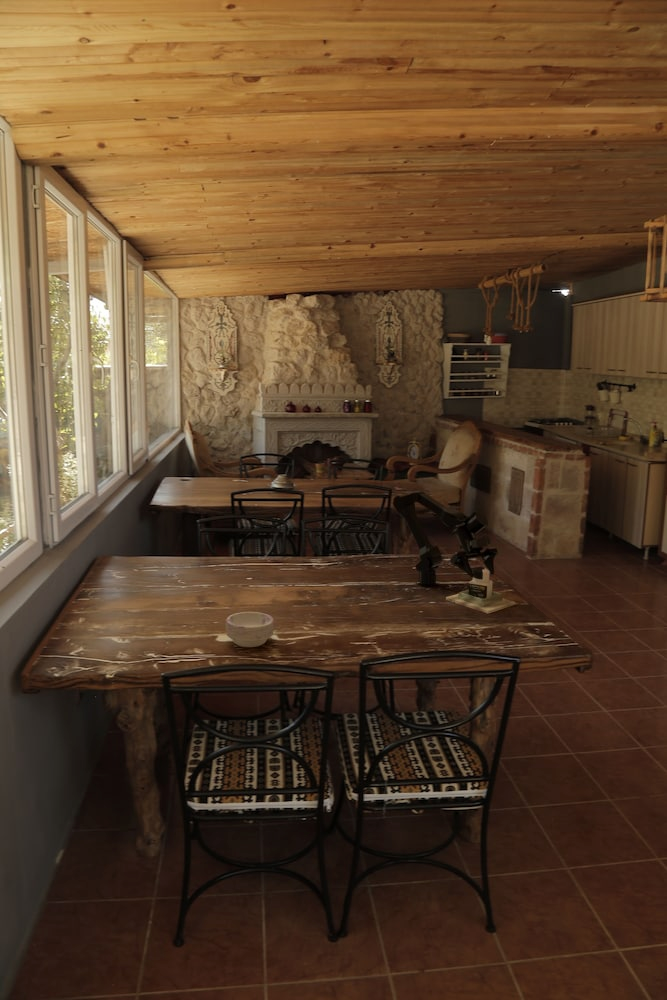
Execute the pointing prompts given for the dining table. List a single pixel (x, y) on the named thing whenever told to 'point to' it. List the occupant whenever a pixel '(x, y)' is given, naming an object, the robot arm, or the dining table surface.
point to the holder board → (481, 601)
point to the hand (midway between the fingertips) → (483, 575)
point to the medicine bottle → (480, 584)
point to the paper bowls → (249, 628)
